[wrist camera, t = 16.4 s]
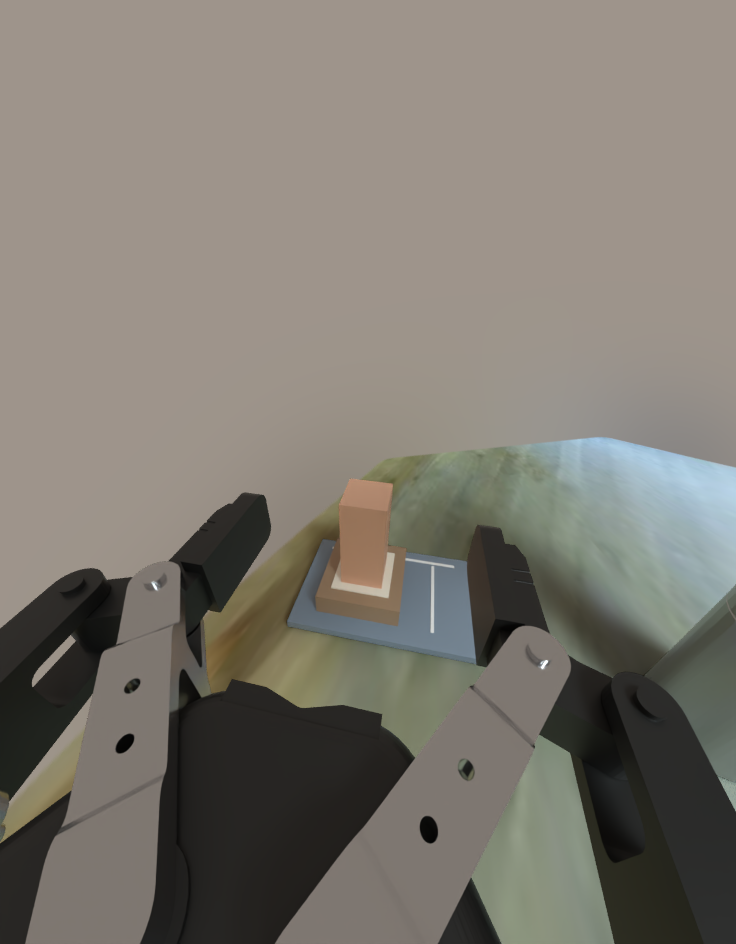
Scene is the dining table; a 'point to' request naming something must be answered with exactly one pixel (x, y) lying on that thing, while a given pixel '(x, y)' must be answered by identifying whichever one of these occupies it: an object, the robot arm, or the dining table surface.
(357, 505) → the terracotta pillar
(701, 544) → the dining table surface
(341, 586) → the blueprint board
